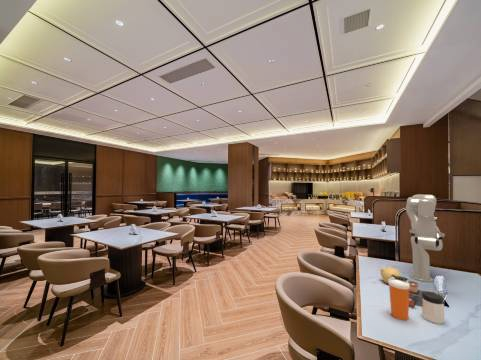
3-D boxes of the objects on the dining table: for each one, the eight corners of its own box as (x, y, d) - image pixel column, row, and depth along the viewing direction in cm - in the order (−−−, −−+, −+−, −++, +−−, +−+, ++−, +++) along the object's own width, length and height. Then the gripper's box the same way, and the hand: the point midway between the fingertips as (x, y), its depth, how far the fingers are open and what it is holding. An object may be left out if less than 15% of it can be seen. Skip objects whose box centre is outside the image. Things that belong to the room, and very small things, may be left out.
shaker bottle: (412, 323, 102) (411, 282, 103) (389, 317, 107) (388, 277, 108) (409, 314, 109) (408, 275, 110) (388, 309, 114) (387, 272, 115)
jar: (448, 321, 104) (447, 297, 104) (440, 326, 100) (439, 300, 101) (426, 312, 112) (425, 289, 112) (418, 316, 108) (417, 292, 109)
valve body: (403, 294, 132) (403, 285, 132) (426, 301, 124) (426, 291, 124) (397, 303, 121) (397, 294, 121) (422, 312, 112) (422, 301, 113)
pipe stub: (408, 296, 128) (408, 280, 128) (419, 300, 124) (418, 283, 124) (407, 299, 124) (407, 282, 125) (417, 303, 121) (417, 285, 121)
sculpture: (394, 280, 151) (394, 265, 152) (406, 288, 139) (405, 271, 140) (378, 279, 152) (377, 264, 153) (388, 287, 141) (387, 270, 141)
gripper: (444, 219, 131) (445, 246, 130) (409, 216, 144) (410, 241, 143) (444, 220, 126) (445, 249, 125) (407, 217, 139) (408, 243, 138)
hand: (426, 245), depth 134 cm, fingers open, 9 cm apart
